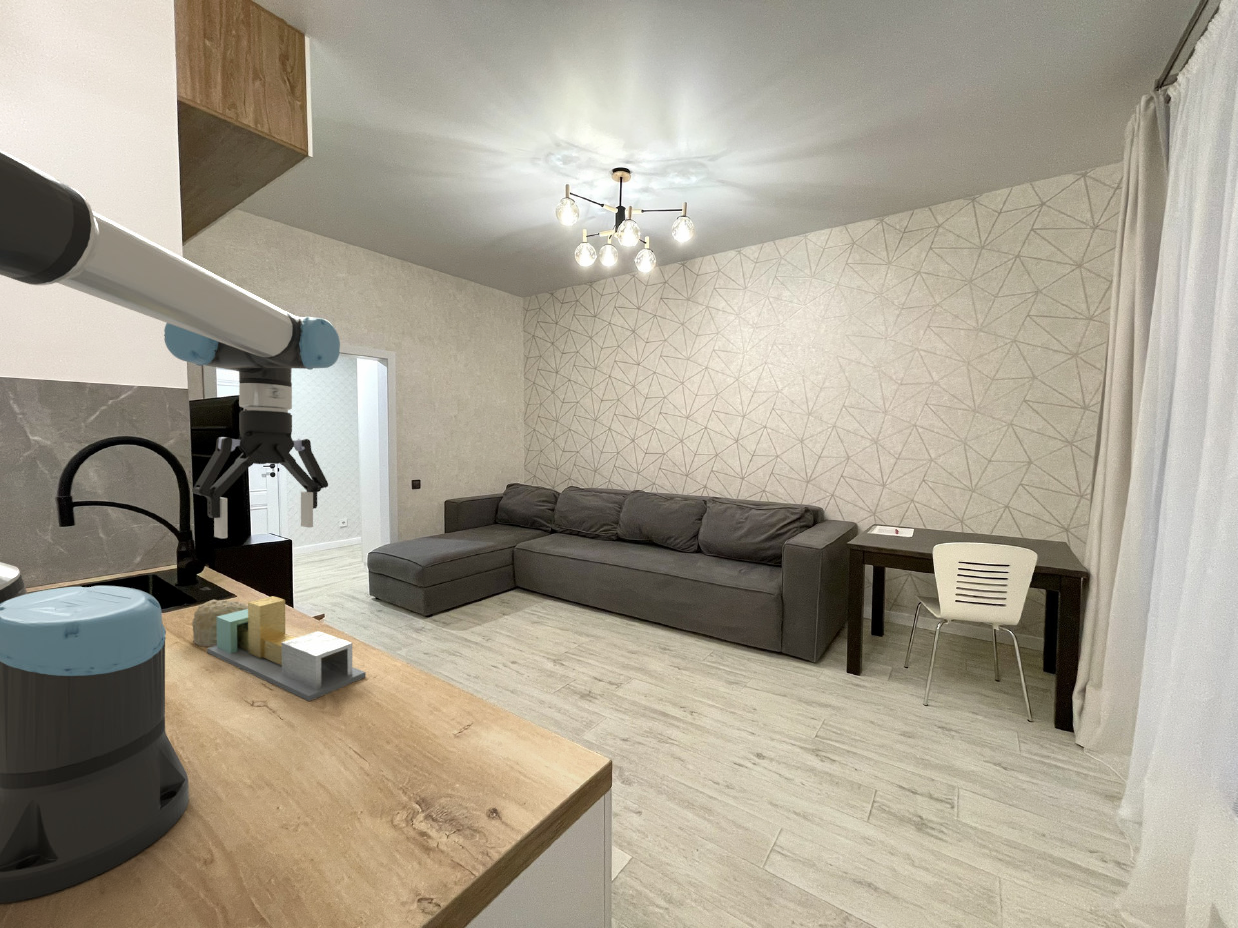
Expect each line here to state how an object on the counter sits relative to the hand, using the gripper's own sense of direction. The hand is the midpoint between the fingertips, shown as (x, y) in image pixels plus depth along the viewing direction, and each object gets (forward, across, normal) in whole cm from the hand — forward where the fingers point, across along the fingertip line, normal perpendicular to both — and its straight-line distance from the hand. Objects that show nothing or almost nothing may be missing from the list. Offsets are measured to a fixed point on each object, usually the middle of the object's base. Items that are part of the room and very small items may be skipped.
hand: (266, 531), depth 88 cm
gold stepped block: (+21, 0, -3) cm, 21 cm away
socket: (+22, 0, +7) cm, 23 cm away
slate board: (+22, 0, -6) cm, 23 cm away
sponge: (+22, 0, +16) cm, 28 cm away
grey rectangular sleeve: (+22, 0, -16) cm, 27 cm away
